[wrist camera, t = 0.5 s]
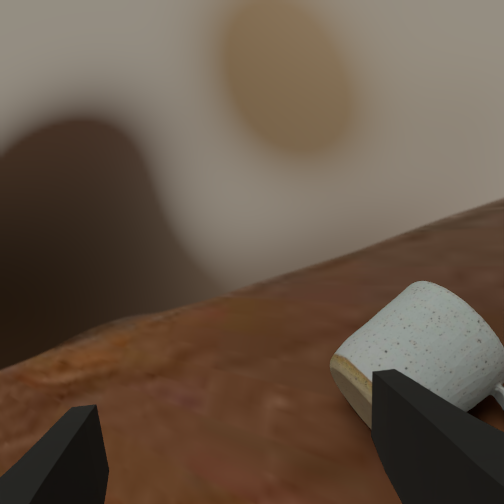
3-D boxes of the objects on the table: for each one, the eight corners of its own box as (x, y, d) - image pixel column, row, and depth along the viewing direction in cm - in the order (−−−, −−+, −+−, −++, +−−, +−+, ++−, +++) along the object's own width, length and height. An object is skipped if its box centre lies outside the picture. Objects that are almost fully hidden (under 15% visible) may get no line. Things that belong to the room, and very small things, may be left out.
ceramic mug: (336, 402, 32) (307, 332, 28) (420, 334, 34) (405, 259, 30) (462, 533, 24) (449, 464, 19) (564, 434, 26) (574, 350, 21)
